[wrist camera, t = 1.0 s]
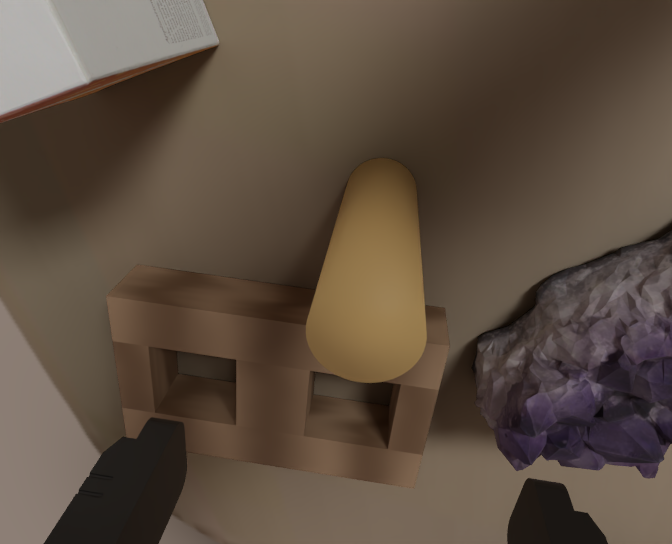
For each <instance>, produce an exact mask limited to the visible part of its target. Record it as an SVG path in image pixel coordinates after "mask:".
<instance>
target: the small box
mask: <svg viewBox="0 0 672 544" xmlns="http://www.w3.org/2000/svg"><path fill="white" fill-rule="evenodd" d="M218 45H219V39H218V37H217V35H216V32H215V30H214V27H213V25H212V22H211V20H210V17H209V15H208V12H207V9H206V7H205V4H204V2H203V0H0V123H3V122H6V121H9V120H12V119H15V118H18V117H21V116H24V115H27V114H30V113H33V112H36V111H39V110H42V109H45V108H48V107H51V106H55V105H58V104H61V103H65V102H68V101H71V100H75V99H78V98H81V97H84V96H86V95H89V94H92V93H95V92H98V91H100V90H102V89H104V88H106V87H109V86H111V85H114V84H117V83H119V82H122V81H124V80H127V79H130V78H132V77H135V76H137V75H140V74H143V73H145V72H148V71H151V70H153V69H156V68H159V67H161V66H164V65H167V64H169V63H172V62H175V61H177V60H180V59H183V58H185V57H188V56H191V55H193V54H196V53H199V52H202V51H204V50H207V49H210V48H213V47H216V46H218Z"/></svg>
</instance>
